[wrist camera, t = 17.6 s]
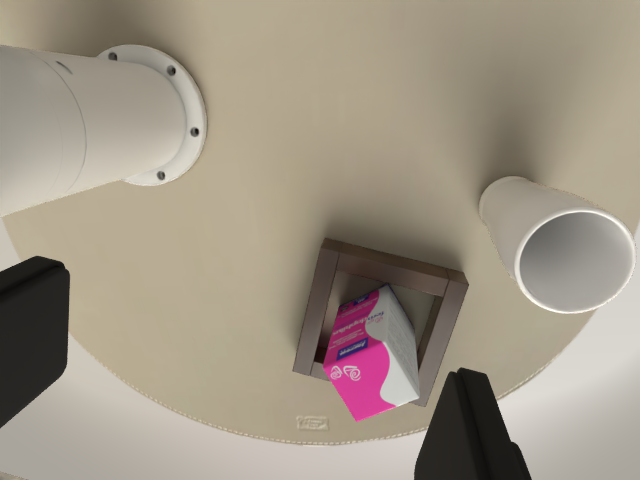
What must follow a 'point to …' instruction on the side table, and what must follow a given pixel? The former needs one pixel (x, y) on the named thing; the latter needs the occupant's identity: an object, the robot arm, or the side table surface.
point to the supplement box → (373, 354)
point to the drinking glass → (557, 244)
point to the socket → (394, 271)
